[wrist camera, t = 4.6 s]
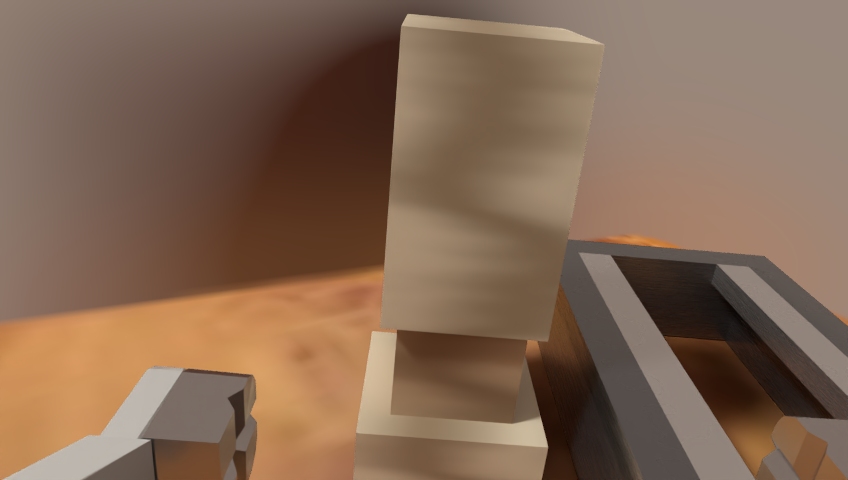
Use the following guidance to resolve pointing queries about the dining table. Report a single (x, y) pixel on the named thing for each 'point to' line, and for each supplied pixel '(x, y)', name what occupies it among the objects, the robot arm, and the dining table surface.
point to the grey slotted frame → (659, 367)
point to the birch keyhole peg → (473, 246)
